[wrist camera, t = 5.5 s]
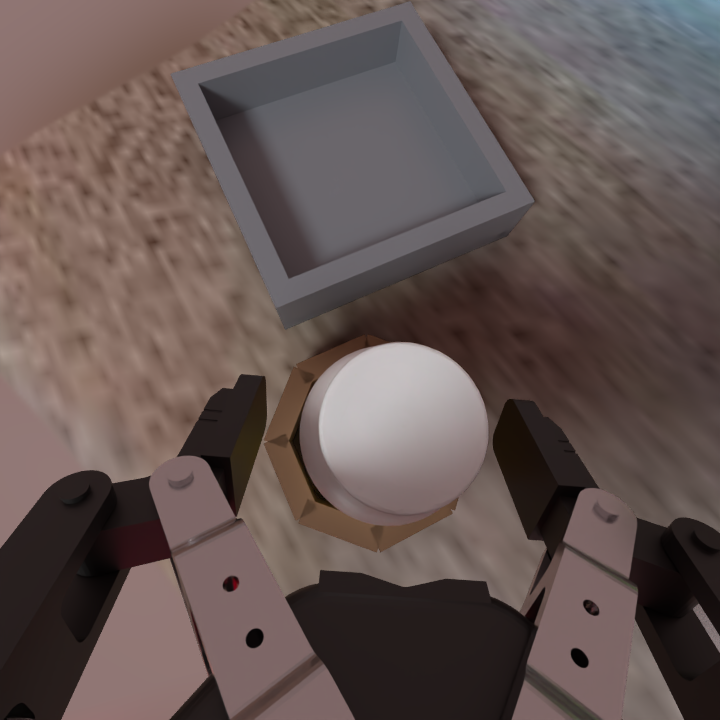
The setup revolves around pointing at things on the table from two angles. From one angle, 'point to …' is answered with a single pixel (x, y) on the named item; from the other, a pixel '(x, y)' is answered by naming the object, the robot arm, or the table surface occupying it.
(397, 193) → the tray
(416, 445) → the supplement bottle
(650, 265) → the table surface
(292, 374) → the holder ring
